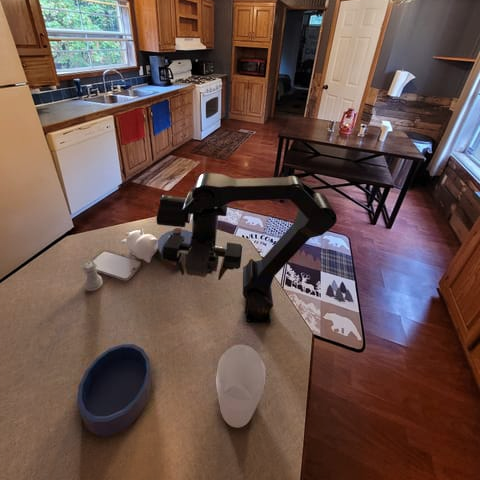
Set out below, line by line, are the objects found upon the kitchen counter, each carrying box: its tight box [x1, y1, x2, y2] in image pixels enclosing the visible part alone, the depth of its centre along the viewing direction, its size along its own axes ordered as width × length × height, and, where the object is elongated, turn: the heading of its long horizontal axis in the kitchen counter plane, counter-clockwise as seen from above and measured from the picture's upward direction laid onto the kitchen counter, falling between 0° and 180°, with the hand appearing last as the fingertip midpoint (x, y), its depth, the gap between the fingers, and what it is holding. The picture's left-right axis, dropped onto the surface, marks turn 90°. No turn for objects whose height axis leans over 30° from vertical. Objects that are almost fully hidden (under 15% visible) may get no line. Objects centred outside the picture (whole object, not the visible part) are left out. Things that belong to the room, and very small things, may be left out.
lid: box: [157, 227, 192, 256], centre depth 86 cm, size 14×14×6 cm
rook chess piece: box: [83, 260, 103, 292], centre depth 72 cm, size 4×4×8 cm
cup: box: [215, 344, 266, 429], centre depth 48 cm, size 9×9×12 cm
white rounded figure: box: [121, 228, 159, 263], centre depth 85 cm, size 9×11×12 cm
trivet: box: [154, 227, 187, 272], centre depth 88 cm, size 13×13×2 cm
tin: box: [76, 343, 153, 437], centre depth 50 cm, size 13×13×5 cm
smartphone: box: [92, 251, 142, 281], centre depth 79 cm, size 7×1×15 cm
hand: (201, 276), depth 64 cm, fingers open, 9 cm apart
